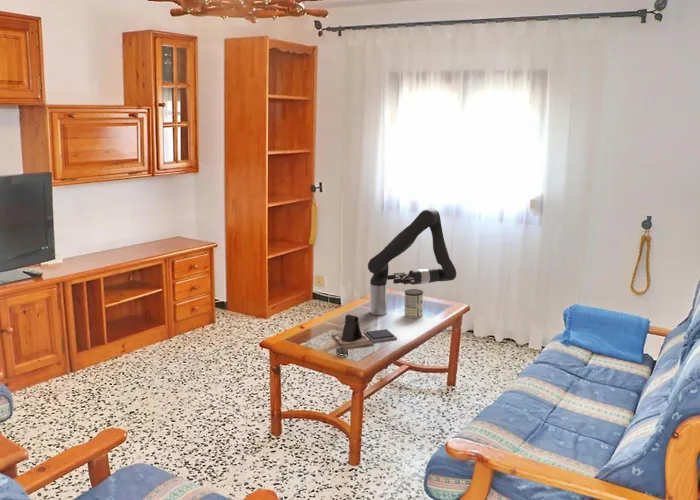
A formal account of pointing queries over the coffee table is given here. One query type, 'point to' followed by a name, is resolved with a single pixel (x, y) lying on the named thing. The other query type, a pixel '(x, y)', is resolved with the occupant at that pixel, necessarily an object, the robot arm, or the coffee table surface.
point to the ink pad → (380, 335)
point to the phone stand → (351, 329)
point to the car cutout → (342, 351)
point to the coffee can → (413, 303)
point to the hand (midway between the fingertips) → (390, 279)
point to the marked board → (357, 343)
